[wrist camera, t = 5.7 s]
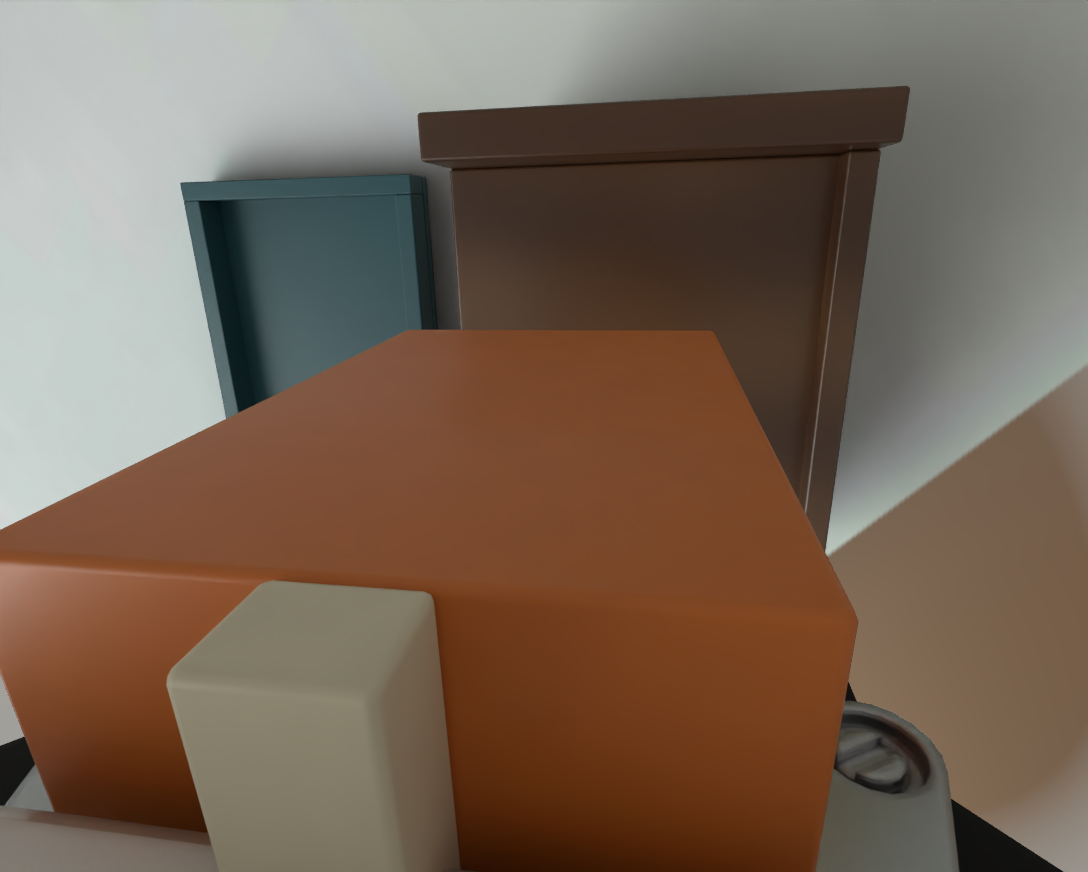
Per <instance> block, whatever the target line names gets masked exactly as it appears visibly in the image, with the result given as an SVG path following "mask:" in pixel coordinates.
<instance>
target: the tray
mask: <svg viewBox="0 0 1088 872" xmlns="http://www.w3.org/2000/svg"><path fill="white" fill-rule="evenodd" d="M180 184H181V190H182V195H183V200H184V201H185V202H184V204H185V210H186V215H187V220H188V225H189V230H190V235H191V240H192V245H193V250H194V256H195V261H196V266H197V271H198V276H199V281H200V286H201V291H202V296H203V301H204V307H205V312H206V317H207V322H208V327H209V332H210V337H211V342H212V347H213V353H214V358H215V363H216V368H217V373H218V378H219V383H220V388H221V393H222V398H223V404H224V409H225V414H226V419H227V418H229V417H231V416H233V415H235V414H237V413H239V412H241V411H244V410H246V409H248V408H250V407H252V406H254V405H256V404H258V403H260V402H262V401H264V400H266V399H268V398H270V397H272V396H274V395H276V394H278V393H280V392H282V391H284V390H286V389H288V388H290V387H292V386H294V385H296V384H298V383H301V382H303V381H305V380H307V379H309V378H311V377H313V376H315V375H317V374H319V373H321V372H323V371H325V370H327V369H329V368H331V367H333V366H335V365H337V364H339V363H341V362H343V361H345V360H347V359H349V358H351V357H353V356H356V355H358V354H360V353H362V352H364V351H366V350H368V349H370V348H372V347H374V346H376V345H378V344H380V343H382V342H384V341H386V340H388V339H390V338H392V337H394V336H396V335H398V334H400V333H402V332H404V331H407V330H438V329H437V316H436V303H435V290H434V277H433V264H432V251H431V238H430V225H429V212H428V199H427V187H426V178H425V177H422V176H417V175H412V174H395V175H369V176H343V177H316V178H290V179H264V180H238V181H212V182H185V183H180Z"/></svg>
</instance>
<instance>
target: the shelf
mask: <svg viewBox="0 0 1088 872" xmlns="http://www.w3.org/2000/svg"><path fill="white" fill-rule="evenodd" d="M909 93H910V88H909V87H908V86H893V87H875V88H857V89H839V90H821V91H803V92H785V93H767V94H749V95H730V96H712V97H694V98H676V99H658V100H640V101H622V102H604V103H586V104H568V105H549V106H531V107H513V108H495V109H477V110H459V111H441V112H423V113H419V114H418V128H419V140H420V153H421V160H422V161H423V162H426V163H430V164H434V165H438V166H442V167H446V168H450V169H452V170H451V171H450V178H451V193H452V208H453V224H454V239H455V254H456V269H457V284H458V300H459V315H460V330H663V331H712V332H714V334H715V335H716V337H717V339H718V341H719V343H720V345H721V347H722V349H723V351H724V353H725V355H726V357H727V359H728V361H729V363H730V365H731V367H732V369H733V371H734V373H735V375H736V377H737V379H738V381H739V383H740V385H741V387H742V389H743V391H744V393H745V395H746V397H747V399H748V401H749V403H750V405H751V407H752V409H753V411H754V413H755V415H756V417H757V419H758V421H759V423H760V425H761V427H762V429H763V431H764V432H765V434H766V436H767V438H768V440H769V442H770V444H771V446H772V448H773V450H774V452H775V454H776V456H777V458H778V460H779V462H780V464H781V466H782V468H783V470H784V472H785V474H786V476H787V478H788V480H789V482H790V484H791V486H792V488H793V490H794V492H795V494H796V496H797V498H798V500H799V502H800V504H801V506H802V508H803V510H804V512H805V514H806V516H807V518H808V520H809V522H810V524H811V526H812V528H813V529H814V531H815V533H816V535H817V537H818V539H819V541H820V543H821V545H822V547H823V549H824V551H825V549H826V542H827V534H828V527H829V520H830V513H831V506H832V499H833V491H834V484H835V477H836V470H837V463H838V456H839V448H840V441H841V434H842V427H843V420H844V412H845V405H846V398H847V391H848V384H849V377H850V369H851V362H852V355H853V348H854V341H855V333H856V326H857V319H858V312H859V305H860V298H861V290H862V283H863V276H864V269H865V262H866V254H867V247H868V240H869V233H870V226H871V219H872V211H873V204H874V197H875V190H876V183H877V176H878V168H879V161H880V154H881V152H880V150H878V149H880V148H883V147H886V146H889V145H892V144H895V143H898V142H901V140H902V139H903V133H904V127H905V120H906V113H907V106H908V100H909Z"/></svg>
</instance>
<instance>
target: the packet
mask: <svg viewBox="0 0 1088 872" xmlns="http://www.w3.org/2000/svg"><path fill="white" fill-rule="evenodd" d="M857 627H858V619H857V616H856V614H855V611H854V609H853V607H852V605H851V603H850V601H849V599H848V597H847V595H846V593H845V591H844V589H843V587H842V585H841V583H840V581H839V579H838V577H837V575H836V573H835V572H834V569H833V567H832V565H831V563H830V561H829V559H828V557H827V555H826V553H825V551H824V549H823V547H822V545H821V543H820V541H819V539H818V537H817V535H816V533H815V531H814V529H813V528H812V526H811V524H810V522H809V520H808V518H807V516H806V514H805V512H804V510H803V508H802V506H801V504H800V502H799V500H798V498H797V496H796V494H795V492H794V490H793V488H792V486H791V484H790V482H789V480H788V478H787V476H786V474H785V472H784V470H783V468H782V466H781V464H780V462H779V460H778V458H777V456H776V454H775V452H774V450H773V448H772V446H771V444H770V442H769V440H768V438H767V436H766V434H765V432H764V431H763V429H762V427H761V425H760V423H759V421H758V419H757V417H756V415H755V413H754V411H753V409H752V407H751V405H750V403H749V401H748V399H747V397H746V395H745V393H744V391H743V389H742V387H741V385H740V383H739V381H738V379H737V377H736V375H735V373H734V371H733V369H732V367H731V365H730V363H729V361H728V359H727V357H726V355H725V353H724V351H723V349H722V347H721V345H720V343H719V341H718V339H717V337H716V335H715V334H714V332H712V331H663V330H407V331H404V332H402V333H400V334H398V335H396V336H394V337H392V338H390V339H388V340H386V341H384V342H382V343H380V344H378V345H376V346H374V347H372V348H370V349H368V350H366V351H364V352H362V353H360V354H358V355H356V356H353V357H351V358H349V359H347V360H345V361H343V362H341V363H339V364H337V365H335V366H333V367H331V368H329V369H327V370H325V371H323V372H321V373H319V374H317V375H315V376H313V377H311V378H309V379H307V380H305V381H303V382H301V383H298V384H296V385H294V386H292V387H290V388H288V389H286V390H284V391H282V392H280V393H278V394H276V395H274V396H272V397H270V398H268V399H266V400H264V401H262V402H260V403H258V404H256V405H254V406H252V407H250V408H248V409H246V410H244V411H241V412H239V413H237V414H235V415H233V416H231V417H229V418H227V419H225V420H223V421H221V422H219V423H217V424H215V425H213V426H211V427H209V428H207V429H205V430H203V431H201V432H199V433H197V434H195V435H193V436H191V437H189V438H186V439H184V440H182V441H180V442H178V443H176V444H174V445H172V446H170V447H168V448H166V449H164V450H162V451H160V452H158V453H156V454H154V455H152V456H150V457H148V458H146V459H144V460H142V461H140V462H138V463H136V464H134V465H132V466H129V467H127V468H125V469H123V470H121V471H119V472H117V473H115V474H113V475H111V476H109V477H107V478H105V479H103V480H101V481H99V482H97V483H95V484H93V485H91V486H89V487H87V488H85V489H83V490H81V491H79V492H77V493H74V494H72V495H70V496H68V497H66V498H64V499H62V500H60V501H58V502H56V503H54V504H52V505H50V506H48V507H46V508H44V509H42V510H40V511H38V512H36V513H34V514H32V515H30V516H28V517H26V518H24V519H22V520H20V521H17V522H15V523H13V524H11V525H9V526H7V527H5V528H3V529H1V530H0V675H1V678H2V680H3V683H4V685H5V688H6V690H7V693H8V695H9V698H10V701H11V703H12V706H13V708H14V711H15V713H16V716H17V718H18V721H19V724H20V726H21V729H22V731H23V734H24V736H25V739H26V742H27V744H28V747H29V749H30V752H31V754H32V757H33V759H34V762H35V765H36V767H37V770H38V772H39V775H40V777H41V780H42V782H43V785H44V788H45V790H46V793H47V795H48V798H49V800H50V803H51V805H52V808H53V811H54V812H60V813H68V814H75V815H82V816H90V817H97V818H104V819H111V820H118V821H126V822H133V823H140V824H147V825H154V826H162V827H169V828H176V829H183V830H190V831H198V832H205V833H208V834H209V838H210V841H211V845H212V848H213V852H214V855H215V859H216V862H217V866H218V869H219V872H441V871H443V870H446V869H449V868H455V869H461V870H468V871H475V872H816V867H817V861H818V855H819V849H820V844H821V838H822V832H823V826H824V820H825V814H826V808H827V802H828V797H829V791H830V785H831V779H832V773H833V767H834V761H835V756H836V750H837V744H838V738H839V732H840V726H841V720H842V715H843V709H844V703H845V697H846V691H847V685H848V679H849V673H850V668H851V662H852V656H853V650H854V644H855V638H856V632H857Z"/></svg>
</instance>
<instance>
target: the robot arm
mask: <svg viewBox="0 0 1088 872" xmlns="http://www.w3.org/2000/svg"><path fill="white" fill-rule="evenodd" d="M948 779H949V778H948V772H947V769H946V766H945V763H944V760H943V757H942V755H941V754H940V752H939V751H938V749H937V748H936V747H935V745H934V744H933V743H932V741H931V740H930V739H929V738H928V737H927V736H926V735H924V734H923V733H922V732H921V731H920V730H919V729H917V728H916V727H915V726H914V725H913V724H911V723H909V722H908V721H906V720H904V719H903V718H901V717H899V716H898V715H896V714H894V713H892V712H890V711H887V710H884V709H882V708H879V707H877V706H874V705H871V704H866V703H861V702H857V701H856V699H855V696H854V694H853V692H852V689H851V687H850V684H849V682H848V685H847V691H846V697H845V703H844V709H843V715H842V720H841V726H840V732H839V738H838V744H837V750H836V756H835V761H834V767H833V773H832V779H831V785H830V791H829V797H828V802H827V808H826V814H825V820H824V826H823V832H822V838H821V844H820V849H819V855H818V861H817V867H816V872H1063V871H1061V870H1060V869H1058V868H1057V867H1055V866H1054V865H1052V864H1050V863H1049V862H1048V861H1046V860H1044V859H1043V858H1041V857H1040V856H1038V855H1037V854H1035V853H1034V852H1032V851H1031V850H1029V849H1027V848H1026V847H1024V846H1023V845H1021V844H1020V843H1018V842H1017V841H1015V840H1014V839H1012V838H1011V837H1009V836H1007V835H1006V834H1004V833H1003V832H1001V831H1000V830H998V829H997V828H995V827H994V826H992V825H991V824H989V823H988V822H986V821H984V820H983V819H981V818H980V817H978V816H977V815H975V814H974V813H972V812H971V811H969V810H968V809H966V808H964V807H963V806H961V805H960V804H958V803H957V802H955V801H954V800H952V799H951V796H950V788H949V780H948ZM0 872H219V869H218V866H217V862H216V859H215V855H214V852H213V848H212V845H211V841H210V838H209V834H208V833H205V832H198V831H190V830H183V829H176V828H169V827H162V826H154V825H147V824H140V823H133V822H126V821H118V820H111V819H104V818H97V817H90V816H82V815H75V814H68V813H60V812H54V811H53V808H52V805H51V803H50V800H49V798H48V795H47V793H46V790H45V788H44V785H43V782H42V780H41V777H40V775H39V772H38V770H37V767H36V765H35V762H34V759H33V757H32V754H31V752H30V749H29V747H28V744H27V742H26V739H25V737H22V738H20V739H17V740H14V741H12V742H9V743H7V744H4V745H1V746H0ZM441 872H475V871H468V870H461V869H455V868H449V869H446V870H443V871H441Z"/></svg>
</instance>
